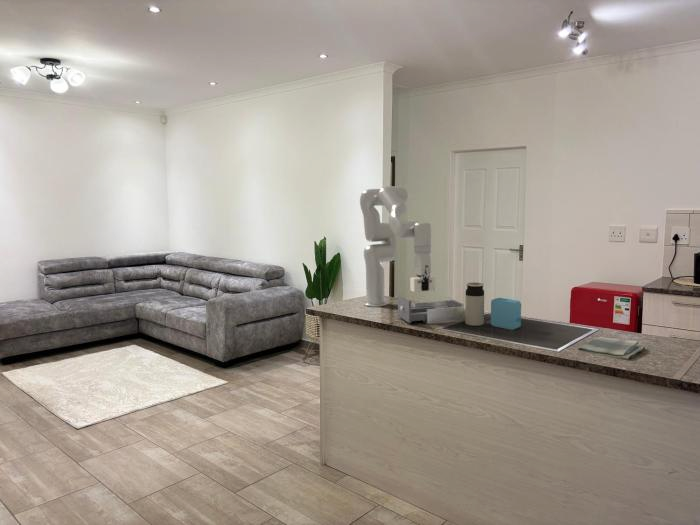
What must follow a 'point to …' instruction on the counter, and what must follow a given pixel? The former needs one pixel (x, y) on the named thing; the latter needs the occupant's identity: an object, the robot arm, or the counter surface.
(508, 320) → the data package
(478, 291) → the travel mug
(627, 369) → the counter surface
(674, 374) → the counter surface
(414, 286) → the cartridge
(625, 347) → the dish towel
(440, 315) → the grey storage bin
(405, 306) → the grey drawer
